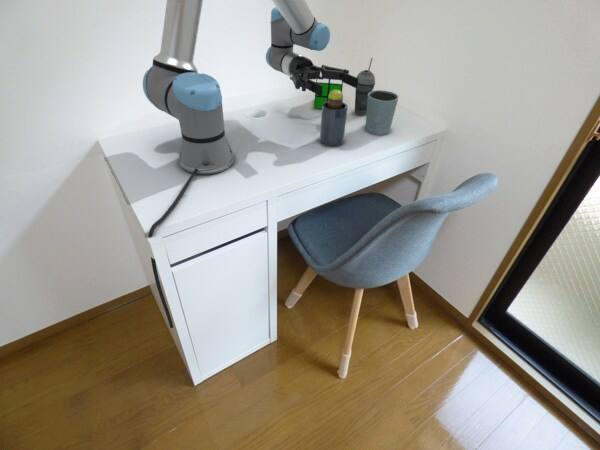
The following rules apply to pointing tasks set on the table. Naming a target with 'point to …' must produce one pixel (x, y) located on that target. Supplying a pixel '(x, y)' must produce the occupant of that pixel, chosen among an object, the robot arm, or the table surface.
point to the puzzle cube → (326, 90)
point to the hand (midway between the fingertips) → (339, 86)
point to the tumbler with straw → (363, 90)
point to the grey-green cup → (380, 111)
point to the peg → (335, 99)
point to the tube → (333, 125)
